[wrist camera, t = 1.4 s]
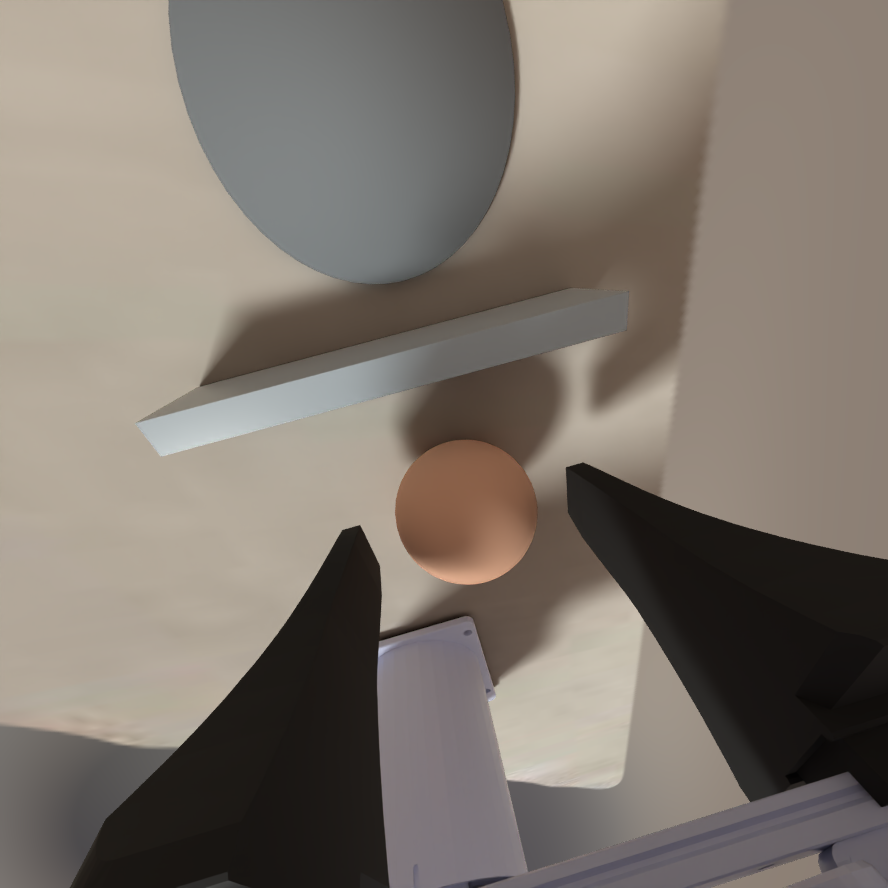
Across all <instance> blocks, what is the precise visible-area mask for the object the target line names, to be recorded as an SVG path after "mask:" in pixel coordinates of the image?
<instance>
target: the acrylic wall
mask: <svg viewBox="0 0 888 888" xmlns="http://www.w3.org/2000/svg"><path fill="white" fill-rule="evenodd" d="M628 300H629V291H617V290H600V289H583V288H569V289H565V290H561V291H557V292H554V293H550V294H546V295H542V296H539V297H535V298H531V299H527V300H524V301H520V302H516V303H512V304H508V305H505V306H501V307H497V308H493V309H490V310H486V311H482V312H478V313H475V314H471V315H467V316H463V317H460V318H456V319H452V320H448V321H445V322H441V323H437V324H433V325H429V326H426V327H422V328H418V329H414V330H411V331H407V332H403V333H399V334H396V335H392V336H388V337H384V338H381V339H377V340H373V341H369V342H366V343H362V344H358V345H354V346H350V347H347V348H343V349H339V350H335V351H332V352H328V353H324V354H320V355H317V356H313V357H309V358H305V359H302V360H298V361H294V362H290V363H287V364H283V365H279V366H275V367H271V368H268V369H264V370H260V371H256V372H253V373H249V374H245V375H241V376H238V377H234V378H230V379H226V380H223V381H219V382H215V383H211V384H208V385H204V386H200V387H197V388H195V389H194V390H192V391H190V392H189V393H187V394H185V395H183V396H182V397H180V398H178V399H176V400H175V401H173V402H171V403H169V404H168V405H166V406H164V407H163V408H161V409H159V410H157V411H156V412H154V413H152V414H150V415H149V416H147V417H145V418H143V419H142V420H140V421H138V422H137V423H135V424H136V425H137V427H138V428H139V429H140V430H141V432H142V433H143V434H144V435H145V437H146V438H147V439H148V441H149V442H150V443H151V444H152V446H153V447H154V448H155V449H156V451H157V452H158V453H159V455H160V456H165V455H169V454H172V453H176V452H180V451H184V450H187V449H191V448H195V447H198V446H202V445H206V444H209V443H213V442H217V441H220V440H224V439H228V438H231V437H235V436H239V435H243V434H246V433H250V432H254V431H257V430H261V429H265V428H268V427H272V426H276V425H279V424H283V423H287V422H291V421H294V420H298V419H302V418H305V417H309V416H313V415H316V414H320V413H324V412H327V411H331V410H335V409H338V408H342V407H346V406H350V405H353V404H357V403H361V402H364V401H368V400H372V399H375V398H379V397H383V396H386V395H390V394H394V393H397V392H401V391H405V390H409V389H412V388H416V387H420V386H423V385H427V384H431V383H434V382H438V381H442V380H445V379H449V378H453V377H457V376H460V375H464V374H468V373H471V372H475V371H479V370H482V369H486V368H490V367H493V366H497V365H501V364H504V363H508V362H512V361H516V360H519V359H523V358H527V357H530V356H534V355H538V354H541V353H545V352H549V351H552V350H556V349H560V348H564V347H567V346H571V345H575V344H578V343H582V342H586V341H589V340H593V339H597V338H600V337H604V336H608V335H611V334H615V333H619V332H623V331H626V330H627V318H628Z"/></svg>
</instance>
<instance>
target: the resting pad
mask: <svg viewBox="0 0 888 888" xmlns="http://www.w3.org/2000/svg"><path fill="white" fill-rule="evenodd" d="M169 24H170V35H171V45H172V52H173V57H174V62H175V67H176V72H177V78H178V82H179V86H180V89H181V92H182V96H183V99H184V102H185V106H186V109H187V113H188V115H189V118H190V120H191V123H192V125H193V128H194V130H195V133H196V135H197V138H198V140H199V143H200V145H201V147H202V148H203V150H204V152H205V154H206V156H207V158H208V160H209V162H210V164H211V166H212V168H213V170H214V171H215V173H216V175H217V176H218V178H219V179H220V181H221V183H222V184H223V186H224V187H225V189H226V190H227V192H228V194H229V195H230V196H231V197H232V199H233V200H234V201H235V203H236V204H237V205H238V206H239V208H240V209H241V210H242V212H243V213H244V214H245V215H246V216H247V217H248V219H249V220H250V221H251V222H252V223H253V224H254V225H255V226H256V227H257V228H258V229H259V230H260V231H261V232H262V233H263V234H264V235H265V236H266V237H267V238H268V239H270V240H271V241H272V242H273V243H274V244H275V245H277V246H278V247H279V248H280V249H282V250H283V251H284V252H286V253H287V254H289V255H290V256H292V257H293V258H294V259H296V260H297V261H299V262H301V263H303V264H305V265H307V266H308V267H310V268H312V269H314V270H316V271H318V272H321V273H323V274H326V275H328V276H331V277H334V278H337V279H341V280H345V281H349V282H355V283H364V284H388V283H393V282H399V281H404V280H407V279H410V278H413V277H416V276H419V275H421V274H423V273H425V272H427V271H429V270H431V269H433V268H435V267H437V266H438V265H439V264H441V263H442V262H444V261H445V260H446V259H448V258H449V257H451V256H452V255H453V254H454V253H455V252H456V251H457V250H458V249H459V248H460V247H461V246H462V245H463V244H464V243H465V242H466V241H467V239H468V238H469V237H470V236H471V235H472V233H473V232H474V231H475V230H476V228H477V227H478V225H479V223H480V222H481V220H482V219H483V217H484V216H485V214H486V212H487V210H488V208H489V206H490V204H491V202H492V200H493V198H494V196H495V194H496V192H497V189H498V186H499V183H500V180H501V178H502V175H503V172H504V168H505V164H506V160H507V156H508V152H509V148H510V142H511V135H512V128H513V122H514V103H515V81H514V62H513V54H512V46H511V38H510V32H509V28H508V23H507V18H506V14H505V9H504V5H503V1H502V0H169Z"/></svg>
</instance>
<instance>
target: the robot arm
mask: <svg viewBox="0 0 888 888" xmlns="http://www.w3.org/2000/svg"><path fill="white" fill-rule="evenodd" d="M566 479H567V503H568V513H569V515H570V517H571V519H572V520H573V522H574V524H575V526H576V527H577V529H578V531H579V532H580V534H581V536H582V537H583V539H584V540H585V541H586V543H587V544H588V545H589V547H590V548H591V549H592V551H593V552H594V553H595V554H596V556H597V557H598V558H599V560H600V561H601V562H602V564H603V565H604V566H605V567H606V569H607V570H608V571H609V573H610V574H611V575H612V576H613V578H614V579H615V580H616V582H617V583H618V584H619V585H620V587H621V588H622V589H623V591H624V592H625V593H626V595H627V596H628V597H629V599H630V600H631V602H632V603H633V604H634V606H635V607H636V609H637V610H638V612H639V613H640V615H641V616H642V618H643V619H644V621H645V623H646V624H647V626H648V627H649V629H650V630H651V632H652V634H653V635H654V637H655V638H656V640H657V641H658V643H659V645H660V646H661V648H662V650H663V651H664V653H665V655H666V656H667V658H668V660H669V661H670V663H671V664H672V666H673V668H674V669H675V671H676V673H677V674H678V676H679V678H680V680H681V681H682V683H683V685H684V686H685V688H686V690H687V692H688V693H689V695H690V697H691V699H692V700H693V702H694V703H695V705H696V707H697V709H698V710H699V712H700V714H701V716H702V717H703V719H704V721H705V723H706V725H707V727H708V728H709V730H710V732H711V734H712V736H713V737H714V739H715V741H716V743H717V745H718V746H719V748H720V750H721V752H722V754H723V756H724V758H725V759H726V761H727V763H728V765H729V767H730V769H731V771H732V772H733V774H734V776H735V778H736V780H737V782H738V784H739V786H740V788H741V789H742V790H743V792H744V793H745V795H746V796H747V798H748V799H749V801H750V803H747V804H743V805H740V806H737V807H734V808H731V809H728V810H724V811H721V812H718V813H715V814H712V815H708V816H706V817H702V818H699V819H696V820H692V821H689V822H686V823H683V824H680V825H677V826H674V827H670V828H667V829H664V830H661V831H658V832H654V833H651V834H648V835H645V836H642V837H639V838H635V839H632V840H629V841H626V842H623V843H620V844H616V845H613V846H610V847H607V848H603V849H600V850H597V851H594V852H591V853H588V854H584V855H581V856H578V857H575V858H572V859H569V860H565V861H562V862H559V863H556V864H553V865H550V866H546V867H543V868H540V869H537V870H533V871H531V872H528V870H527V866H526V862H525V857H524V853H523V849H522V844H521V840H520V836H519V832H518V827H517V823H516V819H515V815H514V810H513V806H512V802H511V798H510V793H509V789H508V785H507V780H506V776H505V772H504V768H503V763H502V759H501V755H500V751H499V746H498V742H497V738H496V733H495V729H494V725H493V721H492V716H491V712H490V708H489V704H488V702H489V701H491V700H493V699H495V697H496V694H495V690H494V686H493V683H492V680H491V677H490V673H489V670H488V667H487V663H486V660H485V657H484V653H483V650H482V647H481V644H480V640H479V637H478V634H477V630H476V627H475V624H474V621H473V619H472V618H471V617H469V616H464V617H460V618H457V619H453V620H450V621H447V622H443V623H440V624H436V625H433V626H430V627H426V628H423V629H419V630H416V631H413V632H409V633H406V634H402V635H399V636H395V637H392V638H389V639H385V640H382V641H379V635H380V618H381V599H382V592H381V575H380V565H379V563H378V561H377V559H376V557H375V555H374V553H373V551H372V549H371V547H370V544H369V542H368V540H367V538H366V536H365V534H364V532H363V530H362V528H361V526H360V525H359V526H355V527H352V528H348V529H345V530H342V532H341V534H340V535H339V537H338V539H337V540H336V542H335V544H334V545H333V547H332V549H331V551H330V552H329V554H328V556H327V558H326V559H325V561H324V563H323V565H322V566H321V568H320V570H319V571H318V573H317V575H316V576H315V578H314V580H313V581H312V583H311V585H310V586H309V588H308V590H307V591H306V593H305V594H304V596H303V597H302V599H301V600H300V602H299V604H298V605H297V607H296V608H295V610H294V611H293V613H292V614H291V616H290V617H289V619H288V620H287V622H286V623H285V624H284V626H283V627H282V628H281V630H280V631H279V633H278V634H277V635H276V637H275V638H274V639H273V641H272V642H271V643H270V645H269V646H268V647H267V648H266V650H265V651H264V652H263V654H262V655H261V656H260V657H259V659H258V660H257V661H256V662H255V664H254V665H253V666H252V667H251V668H250V670H249V671H248V672H247V673H246V674H245V675H244V677H243V678H242V679H241V680H240V681H239V683H238V684H237V685H236V686H235V687H234V688H233V690H232V691H231V692H230V693H229V694H228V696H227V697H226V698H225V699H224V700H223V701H222V702H221V703H220V705H219V706H218V707H217V708H216V709H215V710H214V711H213V712H212V713H211V714H210V715H209V717H208V718H207V719H206V720H205V721H204V722H203V723H202V724H201V725H200V726H199V727H198V728H197V729H196V730H195V732H194V733H193V734H192V735H191V736H190V737H189V738H188V739H187V740H186V741H185V742H184V743H183V744H182V745H181V746H180V747H179V748H178V749H177V750H176V751H175V752H174V753H173V754H172V755H171V756H170V757H169V759H167V760H166V761H165V762H164V763H163V764H162V765H161V766H160V767H159V768H158V769H157V770H156V771H155V772H154V773H153V774H152V775H151V776H150V777H149V778H148V779H147V780H146V781H145V782H144V783H143V784H142V785H141V786H140V787H139V788H138V789H137V790H136V791H135V792H134V793H133V794H132V795H131V796H130V797H128V799H126V801H124V802H123V803H122V804H121V805H120V806H119V807H118V808H117V809H116V810H115V811H114V812H113V813H112V814H111V815H110V816H109V817H108V818H107V819H106V820H105V822H104V823H103V825H102V827H101V829H100V831H99V833H98V835H97V837H96V839H95V841H94V843H93V844H92V846H91V848H90V850H89V852H88V854H87V856H86V858H85V860H84V862H83V864H82V866H81V868H80V869H79V871H78V873H77V875H76V877H75V879H74V881H73V883H72V885H71V887H70V888H711V887H714V886H717V885H720V884H723V883H727V882H730V881H733V880H736V879H739V878H742V877H745V876H748V875H752V874H754V873H758V872H761V871H764V870H767V869H770V868H773V867H777V866H780V865H783V864H786V863H789V862H792V861H795V860H798V859H801V858H805V857H808V856H811V855H814V854H817V853H820V852H821V853H820V854H819V860H818V863H819V866H820V869H821V872H822V873H821V874H819V875H816V876H813V877H811V878H808V879H805V880H803V881H800V882H797V883H795V884H792V885H789V886H787V887H784V888H888V560H887V559H880V558H875V557H869V556H864V555H859V554H854V553H849V552H844V551H840V550H835V549H830V548H826V547H821V546H816V545H812V544H808V543H804V542H799V541H795V540H791V539H787V538H783V537H779V536H776V535H772V534H768V533H764V532H761V531H757V530H754V529H749V528H746V527H743V526H740V525H736V524H733V523H730V522H727V521H724V520H720V519H718V518H715V517H712V516H708V515H705V514H702V513H699V512H697V511H694V510H691V509H688V508H686V507H683V506H681V505H678V504H675V503H673V502H670V501H668V500H665V499H663V498H660V497H658V496H656V495H653V494H651V493H649V492H646V491H644V490H642V489H640V488H637V487H635V486H633V485H631V484H629V483H626V482H624V481H622V480H620V479H618V478H616V477H614V476H611V475H609V474H607V473H605V472H603V471H601V470H599V469H597V468H594V467H592V466H590V465H588V464H585V463H580V464H576V465H573V466H569V467H566Z"/></svg>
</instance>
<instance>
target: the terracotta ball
mask: <svg viewBox="0 0 888 888" xmlns="http://www.w3.org/2000/svg"><path fill="white" fill-rule="evenodd" d="M395 516H396V523H397V529H398V532H399V535H400V538H401V541H402V543H403V545H404V547H405V548H406V550H407V552H408V553H409V555H410V556H411V557H412V558H413V560H414V561H415V562H416V563H417V564H418V565H419V566H420V567H421V568H423V569H424V570H425V571H427V572H428V573H430V574H431V575H433V576H435V577H437V578H439V579H442V580H444V581H447V582H451V583H456V584H468V585H470V584H479V583H484V582H488V581H491V580H493V579H496V578H498V577H500V576H502V575H503V574H505V573H506V572H508V571H509V570H510V569H512V568H513V567H514V566H515V565H516V564H517V563H518V562H519V561H520V560H521V559H522V557H523V556H524V555H525V553H526V551H527V550H528V548H529V546H530V544H531V542H532V540H533V537H534V533H535V530H536V525H537V501H536V496H535V492H534V489H533V487H532V484H531V482H530V480H529V478H528V476H527V474H526V473H525V471H524V470H523V468H522V467H521V466H520V465H519V464H518V463H517V461H516V460H515V459H514V458H512V457H511V456H510V455H509V454H507V453H506V452H505V451H503V450H501V449H500V448H498V447H496V446H493V445H491V444H488V443H485V442H482V441H476V440H454V441H449V442H445V443H442V444H440V445H437V446H435V447H433V448H431V449H430V450H428V451H427V452H425V453H424V454H423V455H421V456H420V457H419V458H418V459H417V460H416V461H415V462H414V463H413V464H412V465H411V467H410V468H409V469H408V471H407V472H406V474H405V476H404V478H403V479H402V481H401V484H400V487H399V490H398V493H397V498H396V508H395Z"/></svg>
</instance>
